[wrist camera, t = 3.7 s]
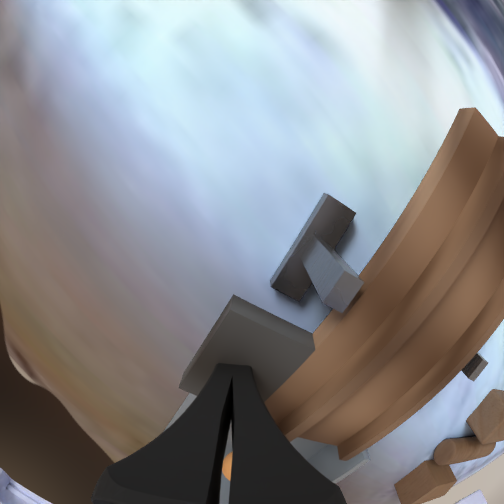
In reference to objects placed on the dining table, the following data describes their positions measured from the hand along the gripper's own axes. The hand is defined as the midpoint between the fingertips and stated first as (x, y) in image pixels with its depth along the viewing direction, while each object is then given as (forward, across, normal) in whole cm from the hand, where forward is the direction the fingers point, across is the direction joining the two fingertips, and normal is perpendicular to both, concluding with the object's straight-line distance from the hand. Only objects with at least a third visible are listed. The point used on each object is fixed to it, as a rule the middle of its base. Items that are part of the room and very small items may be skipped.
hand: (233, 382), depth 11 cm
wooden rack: (0, -6, -3) cm, 7 cm away
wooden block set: (+5, -30, +19) cm, 36 cm away
